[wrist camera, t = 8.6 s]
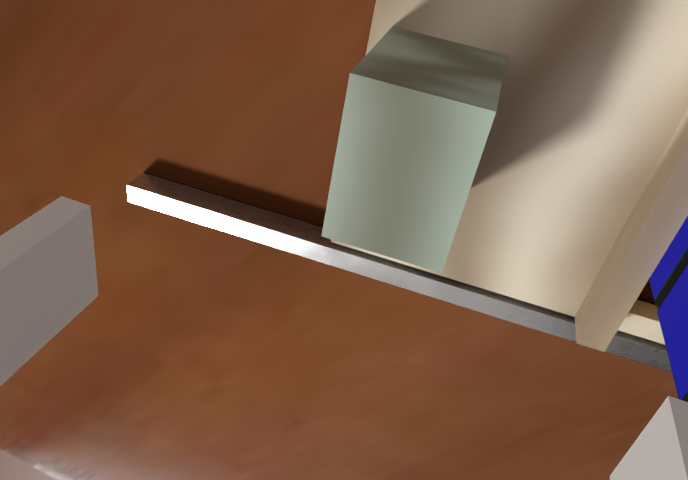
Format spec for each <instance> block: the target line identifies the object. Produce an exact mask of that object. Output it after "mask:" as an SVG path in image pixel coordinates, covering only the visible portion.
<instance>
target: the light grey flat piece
mask: <svg viewBox="0 0 688 480" xmlns="http://www.w3.org/2000/svg"><path fill="white" fill-rule="evenodd" d="M127 199H128V202H131V203H134V204H137V205H140V206H144V207H147V208H150V209H153V210H156V211H159V212H163V213H166V214H169V215H172V216H175V217H179V218H182V219H185V220H188V221H191V222H195V223H198V224H201V225H204V226H207V227H210V228H214V229H217V230H220V231H223V232H226V233H230V234H233V235H236V236H239V237H242V238H246V239H249V240H252V241H255V242H258V243H261V244H265V245H268V246H271V247H274V248H277V249H281V250H284V251H287V252H290V253H293V254H297V255H300V256H303V257H306V258H309V259H312V260H316V261H319V262H322V263H325V264H328V265H332V266H335V267H338V268H341V269H344V270H348V271H351V272H354V273H357V274H360V275H363V276H367V277H370V278H373V279H376V280H379V281H383V282H386V283H389V284H392V285H395V286H399V287H402V288H405V289H408V290H411V291H415V292H418V293H421V294H424V295H427V296H430V297H434V298H437V299H440V300H443V301H446V302H450V303H453V304H456V305H459V306H462V307H466V308H469V309H472V310H475V311H478V312H481V313H485V314H488V315H491V316H494V317H497V318H501V319H504V320H507V321H510V322H513V323H517V324H520V325H523V326H526V327H529V328H532V329H536V330H539V331H542V332H545V333H548V334H552V335H555V336H558V337H561V338H564V339H568V340H571V341H574V342H576V330H575V317H573V316H570V315H567V314H564V313H560V312H557V311H554V310H551V309H547V308H544V307H541V306H538V305H534V304H531V303H528V302H525V301H521V300H518V299H515V298H512V297H508V296H505V295H502V294H499V293H495V292H492V291H489V290H486V289H482V288H479V287H476V286H473V285H469V284H466V283H463V282H460V281H456V280H453V279H450V278H447V277H443V276H440V275H437V274H434V273H430V272H427V271H424V270H421V269H417V268H414V267H411V266H408V265H404V264H401V263H398V262H395V261H391V260H388V259H385V258H382V257H378V256H375V255H372V254H369V253H365V252H362V251H359V250H356V249H352V248H349V247H346V246H343V245H339V244H336V243H333V242H331V239H329V238H325V237H322V230H323V227H320V226H317V225H313V224H310V223H307V222H304V221H300V220H297V219H294V218H290V217H287V216H284V215H281V214H277V213H274V212H271V211H268V210H264V209H261V208H258V207H254V206H251V205H248V204H245V203H241V202H238V201H235V200H231V199H228V198H225V197H222V196H218V195H215V194H212V193H209V192H205V191H202V190H199V189H195V188H192V187H189V186H186V185H182V184H179V183H176V182H172V181H169V180H166V179H163V178H159V177H156V176H153V175H149V174H146V173H142V174H140V175H139V176H138V177H136V178H135V179H134V180H133V181H131V182H130V183H129V184H127ZM605 351H606V352H609V353H612V354H615V355H619V356H622V357H625V358H628V359H631V360H635V361H638V362H641V363H644V364H647V365H650V366H654V367H657V368H660V369H663V370H666V371H670V372H672V369H671V365H670V361H669V357H668V353H667V349H666V346H665V345H664V344H661V343H658V342H655V341H651V340H648V339H645V338H642V337H638V336H635V335H632V334H629V333H625V332H622V331H619V330H617V332H616V334H615V335H614V337H613V339H612V340H611V342H610V344H609V345H608V347H607V348H606V350H605Z"/></svg>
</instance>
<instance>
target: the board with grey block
mask: <svg viewBox="0 0 688 480" xmlns="http://www.w3.org/2000/svg"><path fill="white" fill-rule="evenodd" d="M687 216H688V0H376V4H375V9H374V14H373V20H372V25H371V30H370V36H369V41H368V46H367V52H366V56H365V57H364V58H363V59H362V60H361V61H360V63H359V64H358V65H357V66H356V67H355V68H354V69H353V70H352V71H351V72H350V76H349V81H348V87H347V93H346V99H345V104H344V110H343V116H342V121H341V127H340V133H339V139H338V144H337V150H336V156H335V161H334V167H333V173H332V179H331V184H330V190H329V196H328V201H327V207H326V213H325V219H324V224H323V230H322V237H325V238H329V239H331V242H333V243H336V244H339V245H343V246H346V247H349V248H352V249H356V250H359V251H362V252H365V253H369V254H372V255H375V256H378V257H382V258H385V259H388V260H391V261H395V262H398V263H401V264H404V265H408V266H411V267H414V268H417V269H421V270H424V271H427V272H430V273H434V274H437V275H440V276H443V277H447V278H450V279H453V280H456V281H460V282H463V283H466V284H469V285H473V286H476V287H479V288H482V289H486V290H489V291H492V292H495V293H499V294H502V295H505V296H508V297H512V298H515V299H518V300H521V301H525V302H528V303H531V304H534V305H538V306H541V307H544V308H547V309H551V310H554V311H557V312H560V313H564V314H567V315H570V316H573V317H575V330H576V343H577V344H581V345H584V346H587V347H590V348H593V349H597V350H600V351H603V352H605V350H606V348H607V347H608V345H609V344H610V342H611V340H612V339H613V337H614V335H615V334H616V332H617V330H619V331H622V332H625V333H629V334H632V335H635V336H638V337H642V338H645V339H648V340H651V341H655V342H658V343H661V344H664V345H665V342H664V338H663V334H662V330H661V326H660V322H659V318H658V314H657V311H658V308H657V306H656V305H653V304H650V303H647V302H643V301H640V300H637V298H638V296H639V295H640V293H641V291H642V290H643V288H644V286H645V285H646V283H647V281H648V280H649V278H650V277H651V275H652V273H653V272H654V270H655V268H656V267H657V265H658V263H659V262H660V260H661V259H662V257H663V255H664V254H665V252H666V250H667V249H668V247H669V245H670V244H671V242H672V241H673V239H674V237H675V236H676V234H677V232H678V231H679V229H680V227H681V226H682V224H683V223H684V221H685V219H686V218H687Z"/></svg>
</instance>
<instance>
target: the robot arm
mask: <svg viewBox="0 0 688 480" xmlns="http://www.w3.org/2000/svg"><path fill="white" fill-rule="evenodd" d="M97 296H98V286H97V275H96V264H95V253H94V242H93V231H92V220H91V209H90V206H89V205H86V204H83V203H80V202H77V201H74V200H71V199H68V198H65V197H62V196H61V197H60V198H58V199H57V200H55V201H54V202H52V203H50V204H49V205H47V206H46V207H44V208H43V209H41V210H40V211H38V212H37V213H35V214H34V215H32V216H30V217H29V218H27V219H26V220H24V221H23V222H21V223H20V224H18V225H17V226H15V227H14V228H12V229H11V230H9V231H7V232H6V233H4V234H3V235H1V236H0V386H1V385H2V384H3V383H4V382H5V381H6V380H7V379H8V378H10V377H11V376H12V375H13V374H14V373H15V372H16V371H17V370H18V369H19V368H20V367H21V366H22V365H24V364H25V363H26V362H27V361H28V360H29V359H30V358H31V357H32V356H33V355H34V354H35V353H37V352H38V351H39V350H40V349H41V348H42V347H43V346H44V345H45V344H46V343H47V342H48V341H50V340H51V339H52V338H53V337H54V336H55V335H56V334H57V333H58V332H59V331H60V330H61V329H63V328H64V327H65V326H66V325H67V324H68V323H69V322H70V321H71V320H72V319H73V318H74V317H75V316H77V315H78V314H79V313H80V312H81V311H82V310H83V309H84V308H85V307H86V306H87V305H88V304H90V303H91V302H92V301H93V300H94V299H95V298H96V297H97ZM610 480H688V402H685V401H682V400H679V399H676V398H673V397H670V396H668V397H667V398H666V400H665V401H664V403H663V404H662V405H661V407H660V408H659V409H658V411H657V412H656V413H655V415H654V416H653V418H652V419H651V420H650V422H649V423H648V424H647V426H646V427H645V429H644V430H643V431H642V433H641V434H640V435H639V437H638V438H637V440H636V441H635V442H634V444H633V445H632V446H631V448H630V449H629V450H628V452H627V453H626V455H625V456H624V457H623V459H622V460H621V461H620V463H619V464H618V466H617V467H616V468H615V470H614V471H613V472H612V474H611V475H610Z"/></svg>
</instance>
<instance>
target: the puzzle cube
mask: <svg viewBox="0 0 688 480" xmlns="http://www.w3.org/2000/svg"><path fill="white" fill-rule="evenodd" d="M649 283H650V287H651V292H652V296H653V300H654V302H655V304H656V306H657V308H658V311H657V314H658V318H659V322H660V326H661V330H662V334H663V338H664V342H665V346H666V349H667V353H668V357H669V361H670V365H671V369H672V373H673V377H674V381H675V385H676V389H677V393H678V397H679V400H682V401H685V402H688V216H687V218H686V219H685V221H684V223H683V224H682V226H681V227H680V229H679V231H678V232H677V234H676V236H675V237H674V239H673V241H672V242H671V244H670V245H669V247H668V249H667V250H666V252H665V254H664V255H663V257H662V259H661V260H660V262H659V263H658V265H657V267H656V268H655V270H654V272H653V273H652V275H651V277H650V278H649Z"/></svg>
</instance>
